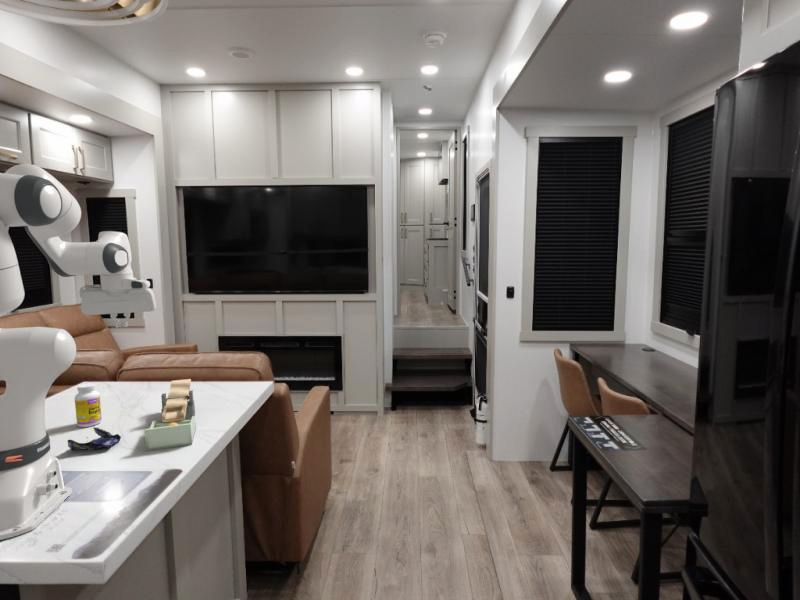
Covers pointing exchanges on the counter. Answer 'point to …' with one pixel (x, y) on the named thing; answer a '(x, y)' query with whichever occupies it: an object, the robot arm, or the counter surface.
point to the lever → (176, 401)
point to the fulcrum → (189, 410)
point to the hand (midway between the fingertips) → (121, 327)
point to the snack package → (97, 441)
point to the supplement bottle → (87, 406)
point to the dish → (170, 434)
